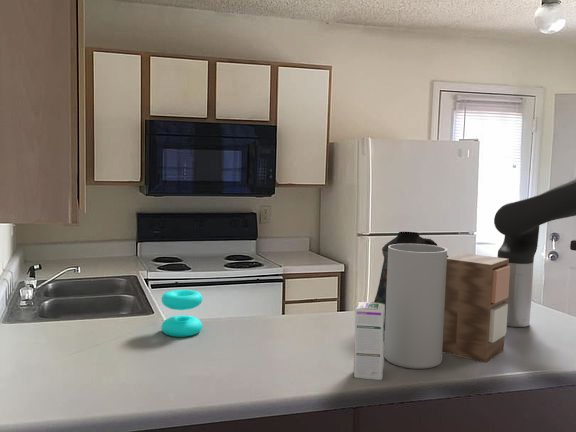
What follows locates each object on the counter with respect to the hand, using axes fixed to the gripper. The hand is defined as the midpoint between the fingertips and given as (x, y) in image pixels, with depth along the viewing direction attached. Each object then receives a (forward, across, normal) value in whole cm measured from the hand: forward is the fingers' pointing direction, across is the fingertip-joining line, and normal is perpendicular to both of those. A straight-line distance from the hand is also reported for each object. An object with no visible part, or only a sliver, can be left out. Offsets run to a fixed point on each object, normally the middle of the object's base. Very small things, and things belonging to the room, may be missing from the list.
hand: (571, 244), depth 129 cm
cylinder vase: (+23, +25, +27) cm, 44 cm away
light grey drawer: (+13, +10, +22) cm, 28 cm away
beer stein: (+39, +2, +27) cm, 47 cm away
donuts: (+75, +49, +28) cm, 94 cm away
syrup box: (+25, +40, +27) cm, 54 cm away
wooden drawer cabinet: (+16, +10, +26) cm, 33 cm away
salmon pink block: (+14, +10, +13) cm, 22 cm away
